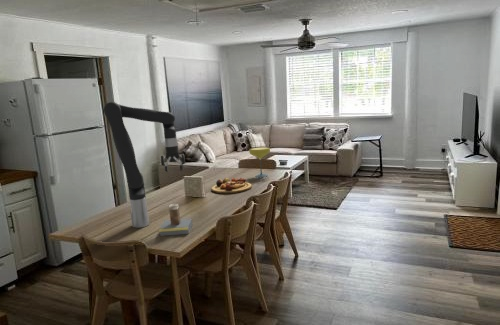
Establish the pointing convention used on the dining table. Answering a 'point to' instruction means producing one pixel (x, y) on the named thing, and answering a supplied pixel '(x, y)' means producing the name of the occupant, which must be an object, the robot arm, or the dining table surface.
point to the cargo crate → (174, 214)
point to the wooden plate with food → (231, 186)
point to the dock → (175, 227)
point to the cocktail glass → (259, 155)
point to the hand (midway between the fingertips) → (174, 171)
